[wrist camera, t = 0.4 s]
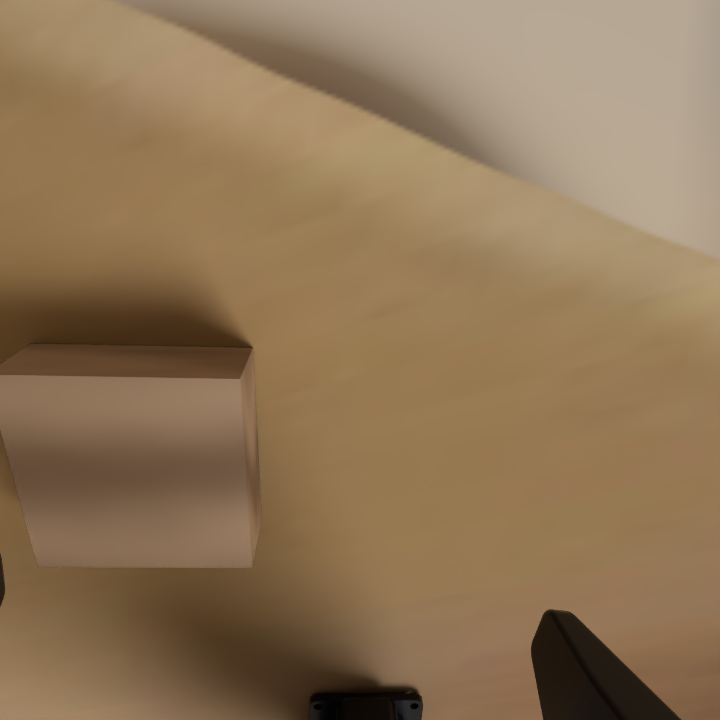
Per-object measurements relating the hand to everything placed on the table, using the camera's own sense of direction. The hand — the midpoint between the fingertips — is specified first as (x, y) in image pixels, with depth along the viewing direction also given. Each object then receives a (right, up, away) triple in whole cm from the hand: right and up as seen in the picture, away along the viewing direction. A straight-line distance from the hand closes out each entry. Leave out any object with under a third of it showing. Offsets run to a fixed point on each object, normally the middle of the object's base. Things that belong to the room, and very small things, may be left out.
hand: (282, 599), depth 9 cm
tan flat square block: (-8, 0, +15) cm, 17 cm away
